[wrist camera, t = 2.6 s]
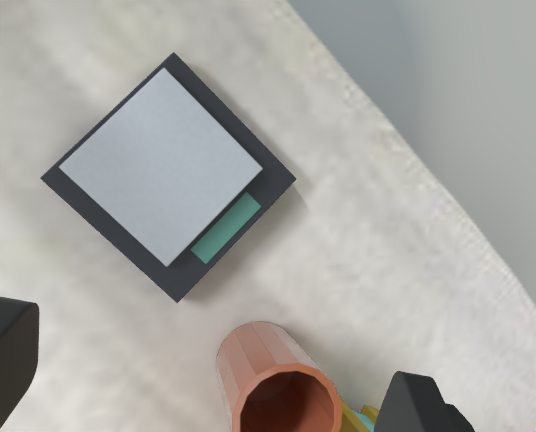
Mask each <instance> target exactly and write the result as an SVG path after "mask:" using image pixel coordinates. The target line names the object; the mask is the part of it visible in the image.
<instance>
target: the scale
mask: <svg viewBox="0 0 536 432" xmlns="http://www.w3.org/2000/svg"><path fill="white" fill-rule="evenodd" d="M41 180H43V181H44V182H45V183H46V184H47V185H48V186H49V187H50V188H51V189H52V190H54V191H55V192H56V193H57V194H58V195H59V196H60V197H61V198H62V199H63V200H65V201H66V202H67V203H68V204H69V205H70V206H71V207H72V208H73V209H74V210H76V211H77V212H78V213H79V214H80V215H81V216H82V217H83V218H84V219H85V220H87V221H88V222H89V223H90V224H91V225H92V226H93V227H94V228H95V229H96V230H98V231H99V232H100V233H101V234H102V235H103V236H104V237H105V238H106V239H107V240H109V241H110V242H111V243H112V244H113V245H114V246H115V247H116V248H117V249H118V250H120V251H121V252H122V253H123V254H124V255H125V256H126V257H127V258H128V259H129V260H131V261H132V262H133V263H134V264H135V265H136V266H137V267H138V268H139V269H140V270H142V271H143V272H144V273H145V274H146V275H147V276H148V277H149V278H150V279H151V280H153V281H154V282H155V283H156V284H157V285H158V286H159V287H160V288H161V289H162V290H164V291H165V292H166V293H167V294H168V295H169V296H170V297H171V298H172V299H173V300H175V301H176V302H177V303H178V302H179V301H180V300H181V299H182V298H183V297H184V296H185V295H186V294H187V293H188V292H189V290H190V289H191V288H192V287H193V286H194V285H195V284H196V283H197V282H198V281H199V280H200V279H201V278H202V277H203V276H204V275H205V274H206V273H207V272H208V271H209V270H210V269H211V268H212V267H213V265H214V264H215V263H216V262H217V261H218V260H219V259H220V258H221V257H222V256H223V255H224V254H225V253H226V252H227V251H228V250H229V249H230V248H231V247H232V246H233V245H234V244H235V243H236V242H237V240H238V239H239V238H240V237H241V236H242V235H243V234H244V233H245V232H246V231H247V230H248V229H249V228H250V227H251V226H252V225H253V224H254V223H255V222H256V221H257V220H258V219H259V218H260V217H261V215H262V214H263V213H264V212H265V211H266V210H267V209H268V208H269V207H270V206H271V205H272V204H273V203H274V202H275V201H276V200H277V199H278V198H279V197H280V196H281V195H282V194H283V193H284V192H285V190H286V189H287V188H288V187H289V186H290V185H291V184H292V183H293V182H294V181H295V180H296V178H295V177H294V176H293V175H292V174H291V173H290V172H289V171H288V170H287V169H286V167H285V166H284V165H283V164H282V163H281V162H280V161H279V160H278V159H277V158H276V157H275V156H274V155H273V154H272V153H271V152H270V151H269V150H268V149H267V148H266V147H265V146H264V145H263V144H262V143H261V142H260V141H259V140H258V139H257V137H256V136H255V135H254V134H253V133H252V132H251V131H250V130H249V129H248V128H247V127H246V126H245V125H244V124H243V123H242V122H241V121H240V120H239V119H238V118H237V117H236V116H235V115H234V114H233V113H232V112H231V111H230V110H229V109H228V107H227V106H226V105H225V104H224V103H223V102H222V101H221V100H220V99H219V98H218V97H217V96H216V95H215V94H214V93H213V92H212V91H211V90H210V89H209V88H208V87H207V86H206V85H205V84H204V83H203V82H202V81H201V80H200V79H199V78H198V76H197V75H196V74H195V73H194V72H193V71H192V70H191V69H190V68H189V67H188V66H187V65H186V64H185V63H184V62H183V61H182V60H181V59H180V58H179V57H178V56H177V55H176V54H175V53H174V52H173V53H172V54H171V55H170V56H169V57H168V58H167V59H166V60H165V61H164V62H163V63H162V64H161V65H159V66H158V67H157V68H156V69H155V70H154V71H153V72H152V73H151V74H150V75H149V76H148V77H147V78H146V79H145V80H144V81H143V82H141V83H140V84H139V85H138V86H137V87H136V88H135V89H134V90H133V91H132V92H131V93H130V94H129V95H128V96H127V97H126V98H125V99H123V100H122V101H121V102H120V103H119V104H118V105H117V106H116V107H115V108H114V109H113V110H112V111H111V112H110V113H109V114H108V115H107V116H106V117H104V118H103V119H102V120H101V121H100V122H99V123H98V124H97V125H96V126H95V127H94V128H93V129H92V130H91V131H90V132H89V133H88V134H86V135H85V136H84V137H83V138H82V139H81V140H80V141H79V142H78V143H77V144H76V145H75V146H74V147H73V148H72V149H71V150H70V151H68V152H67V153H66V154H65V155H64V156H63V157H62V158H61V159H60V160H59V161H58V162H57V163H56V164H55V165H54V166H53V167H52V168H50V169H49V170H48V171H47V172H46V173H45V174H44V175H43V176H42V177H41Z"/></svg>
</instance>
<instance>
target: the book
mask: <svg viewBox="0 0 536 432" xmlns="http://www.w3.org/2000/svg"><path fill="white" fill-rule="evenodd" d="M339 398H340V400H341V403H342V424H341V428H340V430H339V432H374V426H375V422H376V419H377V416H378V414H379V411H378V410H376V409H373V408H371V407H369V406H366V405H365V406H364V408H363V411H362V413H361V414H360V413H358V412H356V411H353V410H351V409H350V408H349V406H348V405H347V404H346V403H345V402H344V401H343V400H342V398H341V397H340V396H339Z"/></svg>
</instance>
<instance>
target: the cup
mask: <svg viewBox="0 0 536 432" xmlns="http://www.w3.org/2000/svg"><path fill="white" fill-rule="evenodd" d="M216 373H217V380H218V384H219V388H220V391H221V395H222V399H223V403H224V407H225V411H226V414H227V418H228V422H229V426H230V430H231V432H339V430H340V428H341V424H342V403H341V400H340V398H339V395H338V393H337V390H336V388H335V386H334V384H333V382H332V381H331V380H330V379H329V378H328V377H327V376H326V375H325V373H324V372H323V371H322V370H321V369H320V368H319V367H318V366H317V365H316V363H315V362H314V361H313V360H312V359H311V358H310V357H309V356H308V354H307V353H306V352H305V351H304V350H303V349H302V348H301V347H300V346H299V344H298V343H297V342H296V341H295V340H294V339H293V338H292V337H291V336H290V335H289V334H288V333H287V332H286V331H285V330H284V329H282V328H281V327H279V326H277V325H275V324H272V323H269V322H251V323H248V324H245V325H242V326H240V327H239V328H237V329H235V330H234V331H233V332H232V333H231V334H229V335H228V337H227V338H226V339H225V340H224V342H223V343H222V345H221V347H220V349H219V352H218V355H217V360H216Z"/></svg>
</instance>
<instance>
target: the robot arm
mask: <svg viewBox="0 0 536 432" xmlns="http://www.w3.org/2000/svg"><path fill="white" fill-rule="evenodd" d="M38 344H39V307H38V305H37V304H36V303H32V302H27V301H21V300H16V299H10V298H5V297H0V428H1V427H2V425H3V424H4V423H5V421H6V420H7V418H8V417H9V415H10V414H11V413H12V411H13V410H14V408H15V407H16V406H17V404H18V403H19V401H20V400H21V398H22V397H23V396H24V394H25V393H26V391H27V390H28V388H29V386H30V385H31V383H32V380H33V378H34V375H35V372H36V369H37V364H38ZM374 432H475V431H474V429H473V427H472V425H471V424H470V423H469V422H468V421H467V420H466V418H465V417H464V416H463V415H462V414H461V413H460V412H459V411H458V410H457V408H456V407H455V406H454V405H451V404H445V402H444V400H443V398H442V396H441V394H440V391H439V389H438V387H437V385H436V383H435V381H434V379H433V378H431V377H428V376H423V375H417V374H412V373H406V372H401V371H397V372H396V373H395V374H394V376H393V378H392V380H391V383H390V385H389V388H388V390H387V393H386V396H385V398H384V401H383V403H382V406H381V409H380V411H379V414H378V416H377V419H376V422H375V426H374Z"/></svg>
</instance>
